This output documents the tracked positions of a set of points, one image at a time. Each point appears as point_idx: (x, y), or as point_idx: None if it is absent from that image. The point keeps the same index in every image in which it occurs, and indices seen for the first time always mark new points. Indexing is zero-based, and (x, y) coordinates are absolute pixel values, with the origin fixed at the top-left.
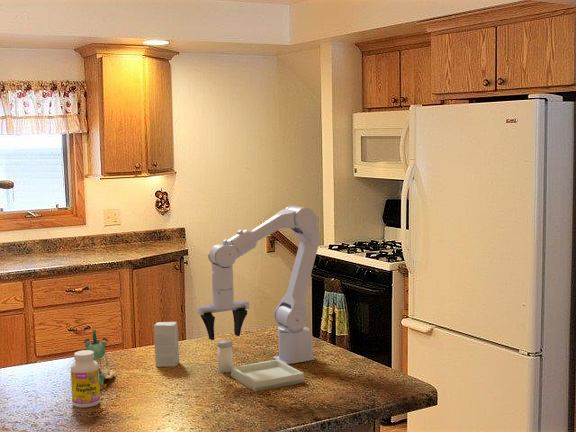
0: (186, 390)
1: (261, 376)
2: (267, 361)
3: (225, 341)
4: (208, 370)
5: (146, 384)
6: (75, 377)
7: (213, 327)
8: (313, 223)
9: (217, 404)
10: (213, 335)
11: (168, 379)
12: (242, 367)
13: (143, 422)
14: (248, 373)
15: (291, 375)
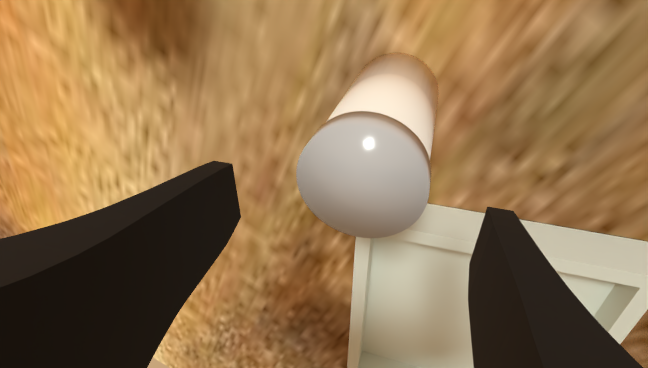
0: None
1: (441, 310)
2: (583, 269)
3: (371, 179)
4: (313, 33)
5: (33, 58)
6: None
7: (168, 319)
8: None
9: (230, 330)
10: (214, 249)
11: (112, 50)
12: (414, 238)
13: None
14: (422, 256)
15: None
